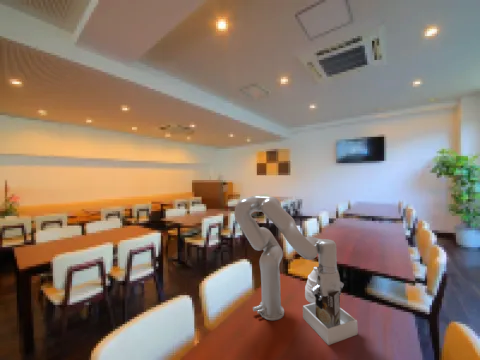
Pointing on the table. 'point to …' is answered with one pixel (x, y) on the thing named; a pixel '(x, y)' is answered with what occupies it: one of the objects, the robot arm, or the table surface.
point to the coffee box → (329, 310)
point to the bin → (334, 333)
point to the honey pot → (311, 285)
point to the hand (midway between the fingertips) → (328, 304)
